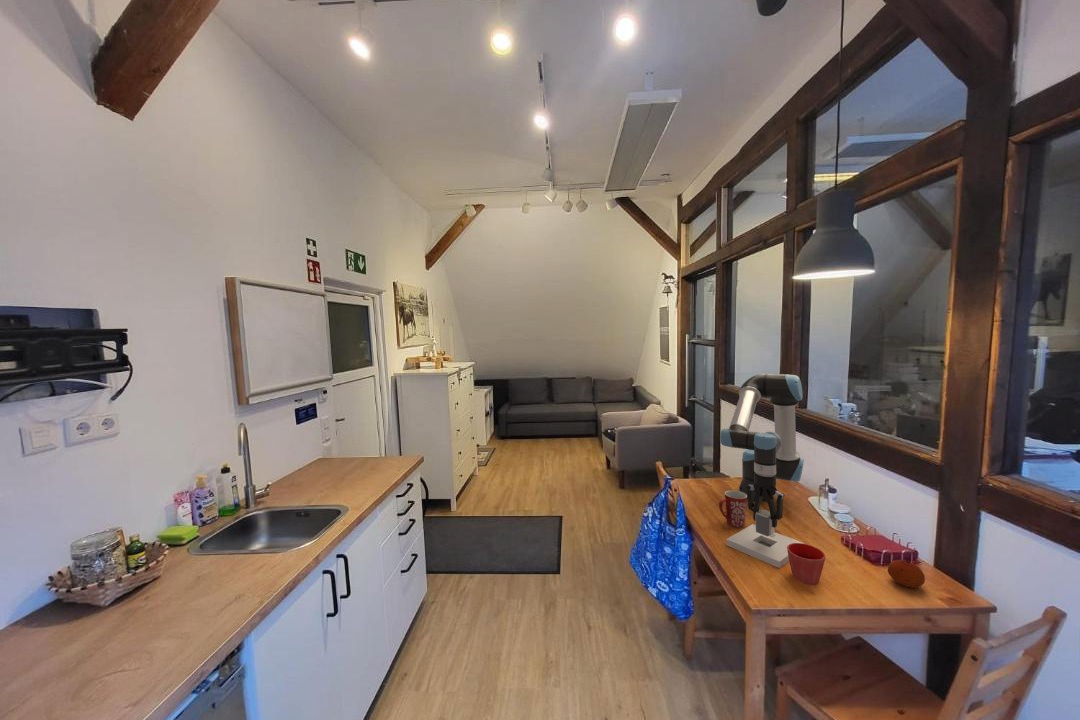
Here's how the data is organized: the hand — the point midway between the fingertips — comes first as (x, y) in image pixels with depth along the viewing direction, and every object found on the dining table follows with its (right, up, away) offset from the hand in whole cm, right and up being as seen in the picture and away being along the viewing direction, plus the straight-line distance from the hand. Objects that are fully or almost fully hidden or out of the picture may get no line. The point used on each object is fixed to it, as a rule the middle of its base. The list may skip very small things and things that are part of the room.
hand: (764, 531), depth 157 cm
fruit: (+33, -7, -24) cm, 42 cm away
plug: (0, 0, 0) cm, 0 cm away
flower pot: (+3, -8, -19) cm, 21 cm away
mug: (-3, -5, +20) cm, 21 cm away
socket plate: (0, -6, 0) cm, 6 cm away
